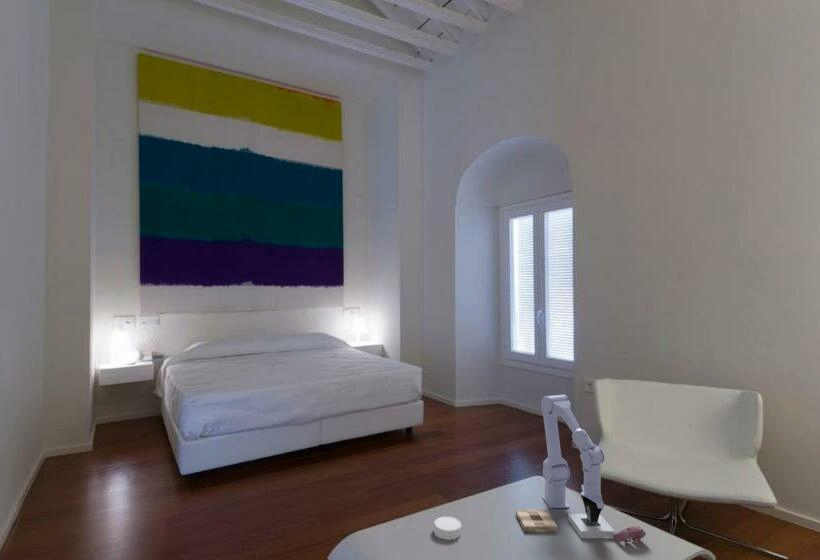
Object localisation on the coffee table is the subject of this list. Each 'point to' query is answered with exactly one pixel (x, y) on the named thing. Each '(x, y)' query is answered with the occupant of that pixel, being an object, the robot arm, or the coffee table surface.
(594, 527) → the dock
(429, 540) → the coffee table surface
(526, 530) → the pin mount
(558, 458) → the robot arm
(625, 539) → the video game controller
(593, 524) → the lock pin
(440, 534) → the white round disc
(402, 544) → the coffee table surface
